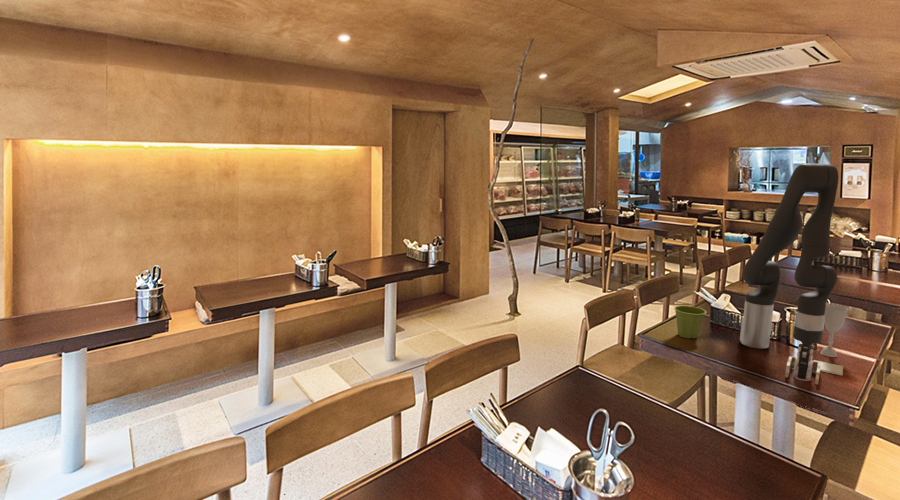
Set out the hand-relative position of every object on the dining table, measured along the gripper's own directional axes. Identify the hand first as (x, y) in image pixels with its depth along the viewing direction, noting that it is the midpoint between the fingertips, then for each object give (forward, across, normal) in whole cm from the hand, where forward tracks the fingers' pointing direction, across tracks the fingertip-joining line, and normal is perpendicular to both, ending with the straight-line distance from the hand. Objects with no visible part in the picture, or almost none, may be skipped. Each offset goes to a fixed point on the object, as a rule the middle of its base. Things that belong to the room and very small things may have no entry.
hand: (802, 375), depth 153 cm
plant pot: (+1, -18, -39) cm, 43 cm away
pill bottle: (+1, 0, 0) cm, 1 cm away
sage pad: (+1, -14, +6) cm, 16 cm away
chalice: (+1, -30, +6) cm, 31 cm away
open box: (+1, -3, 0) cm, 3 cm away
